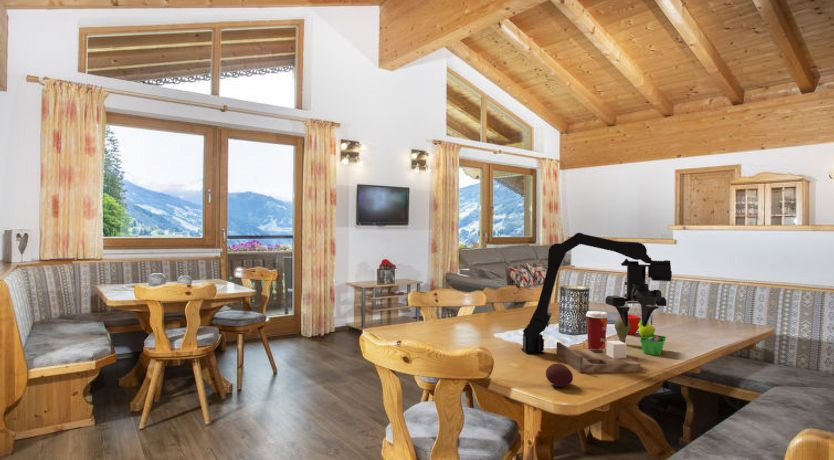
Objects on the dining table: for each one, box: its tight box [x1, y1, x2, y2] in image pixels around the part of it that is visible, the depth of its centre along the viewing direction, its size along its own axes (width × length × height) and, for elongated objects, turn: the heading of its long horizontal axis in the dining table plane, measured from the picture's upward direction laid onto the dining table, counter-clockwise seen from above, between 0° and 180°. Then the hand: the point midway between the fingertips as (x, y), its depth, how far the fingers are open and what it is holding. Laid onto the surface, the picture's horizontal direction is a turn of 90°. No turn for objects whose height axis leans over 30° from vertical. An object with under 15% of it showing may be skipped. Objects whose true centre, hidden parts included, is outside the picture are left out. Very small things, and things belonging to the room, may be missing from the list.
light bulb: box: [614, 317, 630, 344], centre depth 186 cm, size 6×6×10 cm
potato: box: [545, 362, 574, 388], centre depth 138 cm, size 8×9×6 cm
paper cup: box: [585, 310, 609, 349], centre depth 176 cm, size 8×8×14 cm
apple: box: [618, 313, 642, 335], centre depth 205 cm, size 9×9×8 cm
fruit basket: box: [638, 319, 667, 356], centre depth 176 cm, size 11×9×11 cm
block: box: [605, 340, 627, 358], centre depth 160 cm, size 4×4×4 cm
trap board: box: [555, 341, 641, 374], centre depth 159 cm, size 20×18×5 cm
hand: (635, 326), depth 161 cm, fingers open, 6 cm apart
